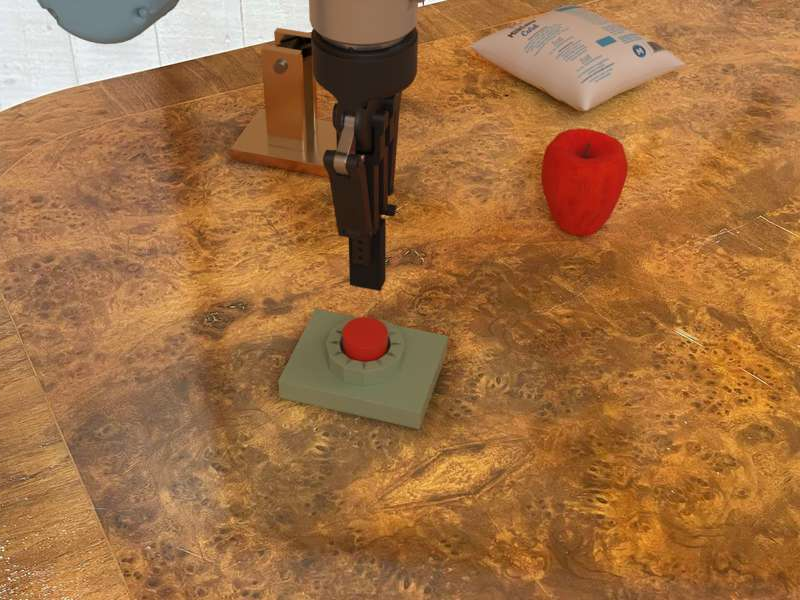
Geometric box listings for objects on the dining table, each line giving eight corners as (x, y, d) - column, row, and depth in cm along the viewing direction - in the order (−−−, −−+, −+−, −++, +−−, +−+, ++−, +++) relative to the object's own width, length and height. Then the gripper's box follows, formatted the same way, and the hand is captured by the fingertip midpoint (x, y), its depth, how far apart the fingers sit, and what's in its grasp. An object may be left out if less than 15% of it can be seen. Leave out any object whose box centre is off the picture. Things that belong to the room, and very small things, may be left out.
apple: (518, 214, 116) (528, 130, 109) (583, 192, 120) (596, 109, 112) (566, 260, 111) (580, 174, 103) (632, 236, 114) (650, 151, 107)
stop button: (336, 356, 94) (336, 342, 93) (350, 327, 97) (350, 313, 96) (380, 366, 93) (380, 352, 92) (392, 336, 96) (393, 321, 95)
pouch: (693, 34, 132) (572, -27, 142) (590, 88, 122) (469, 19, 133) (680, 89, 137) (565, 26, 148) (580, 145, 128) (465, 74, 138)
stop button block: (279, 397, 95) (276, 366, 93) (316, 324, 103) (314, 293, 100) (419, 429, 93) (421, 398, 90) (447, 352, 100) (449, 321, 97)
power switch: (354, 135, 127) (353, 30, 118) (330, 177, 121) (326, 69, 112) (260, 119, 130) (251, 14, 120) (231, 159, 123) (220, 51, 114)
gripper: (390, 80, 69) (388, 342, 85) (439, -7, 78) (430, 244, 94) (281, 63, 71) (299, 324, 86) (342, -20, 80) (349, 229, 96)
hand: (367, 282), depth 90 cm, fingers closed
